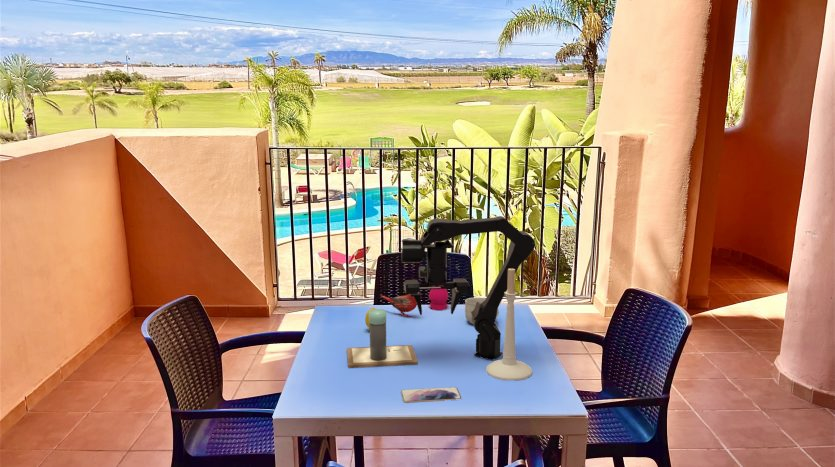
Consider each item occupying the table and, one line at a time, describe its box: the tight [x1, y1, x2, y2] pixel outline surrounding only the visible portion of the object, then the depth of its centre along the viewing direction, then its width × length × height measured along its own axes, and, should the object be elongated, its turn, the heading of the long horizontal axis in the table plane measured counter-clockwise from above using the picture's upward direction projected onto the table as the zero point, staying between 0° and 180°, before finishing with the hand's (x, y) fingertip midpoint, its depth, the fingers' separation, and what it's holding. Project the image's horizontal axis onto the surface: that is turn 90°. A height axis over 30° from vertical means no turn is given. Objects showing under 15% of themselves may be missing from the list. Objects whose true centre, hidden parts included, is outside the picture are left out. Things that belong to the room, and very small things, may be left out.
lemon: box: [364, 307, 376, 330], centre depth 219 cm, size 6×6×8 cm
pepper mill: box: [428, 289, 449, 311], centre depth 244 cm, size 7×7×20 cm
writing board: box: [346, 344, 419, 369], centre depth 197 cm, size 20×14×1 cm
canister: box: [369, 308, 387, 361], centre depth 192 cm, size 5×5×14 cm
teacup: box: [464, 297, 500, 325], centre depth 226 cm, size 14×11×8 cm
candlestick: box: [485, 268, 533, 382], centre depth 183 cm, size 13×13×30 cm
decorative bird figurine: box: [380, 294, 418, 318], centre depth 236 cm, size 3×18×10 cm, turn 59°
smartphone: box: [400, 386, 462, 404], centre depth 171 cm, size 7×1×15 cm
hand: (436, 314), depth 195 cm, fingers open, 9 cm apart
